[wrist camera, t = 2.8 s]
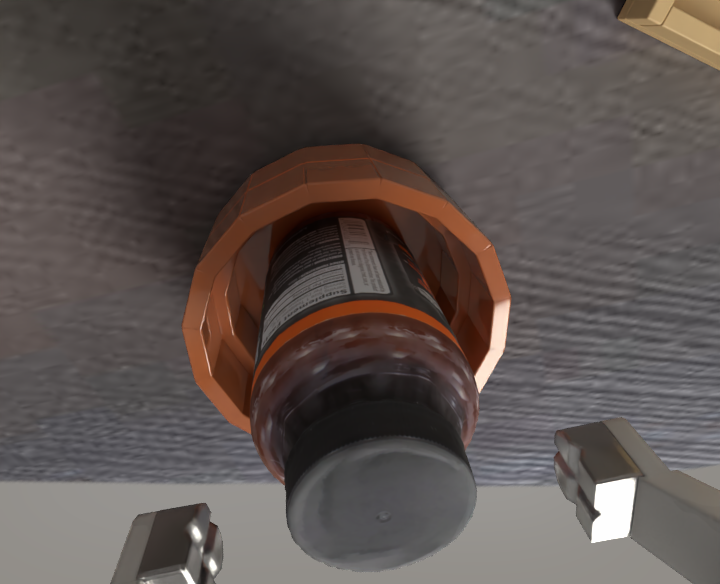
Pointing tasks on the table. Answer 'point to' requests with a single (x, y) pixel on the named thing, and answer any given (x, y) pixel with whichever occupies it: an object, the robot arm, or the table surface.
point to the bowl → (318, 196)
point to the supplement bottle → (362, 398)
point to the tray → (679, 25)
